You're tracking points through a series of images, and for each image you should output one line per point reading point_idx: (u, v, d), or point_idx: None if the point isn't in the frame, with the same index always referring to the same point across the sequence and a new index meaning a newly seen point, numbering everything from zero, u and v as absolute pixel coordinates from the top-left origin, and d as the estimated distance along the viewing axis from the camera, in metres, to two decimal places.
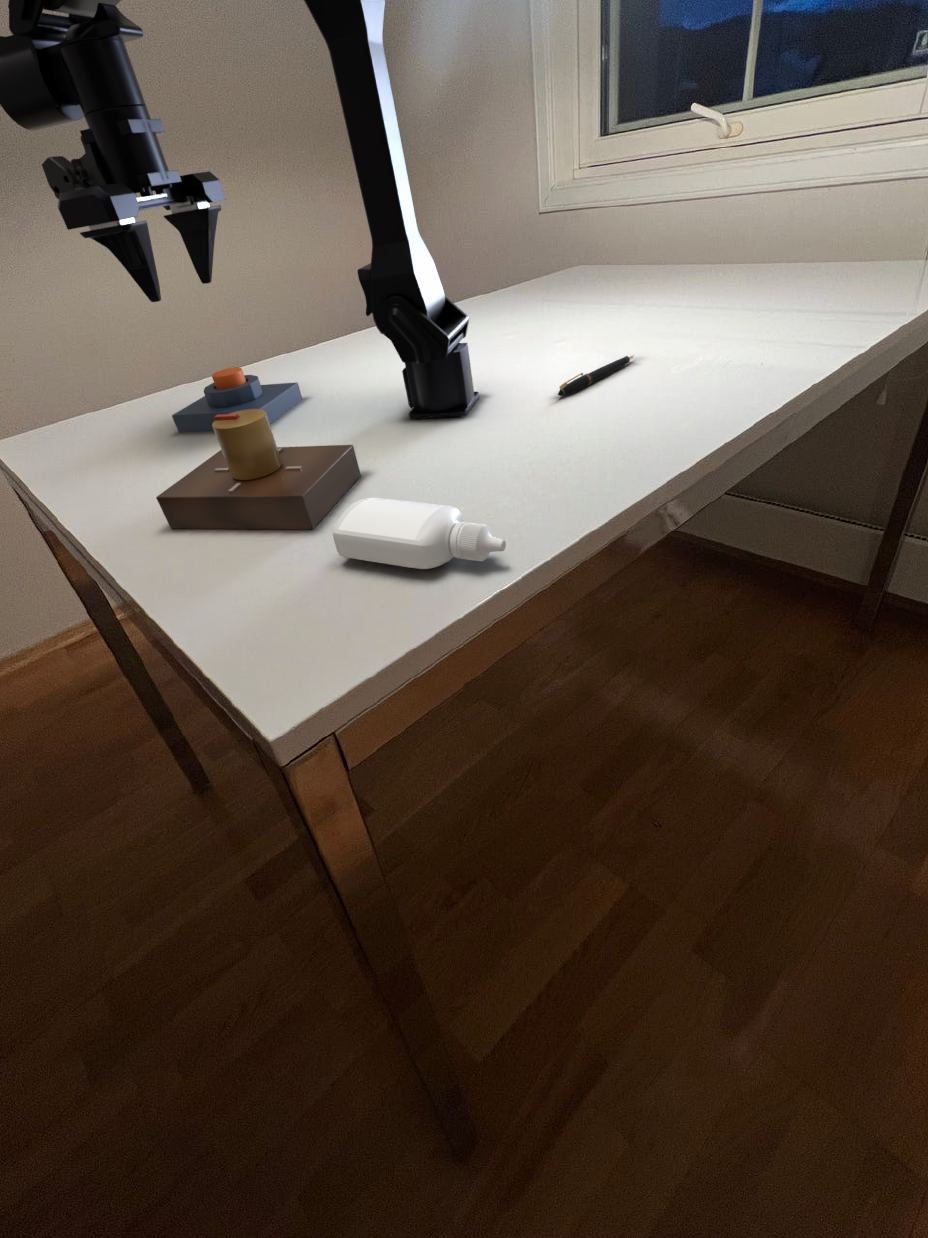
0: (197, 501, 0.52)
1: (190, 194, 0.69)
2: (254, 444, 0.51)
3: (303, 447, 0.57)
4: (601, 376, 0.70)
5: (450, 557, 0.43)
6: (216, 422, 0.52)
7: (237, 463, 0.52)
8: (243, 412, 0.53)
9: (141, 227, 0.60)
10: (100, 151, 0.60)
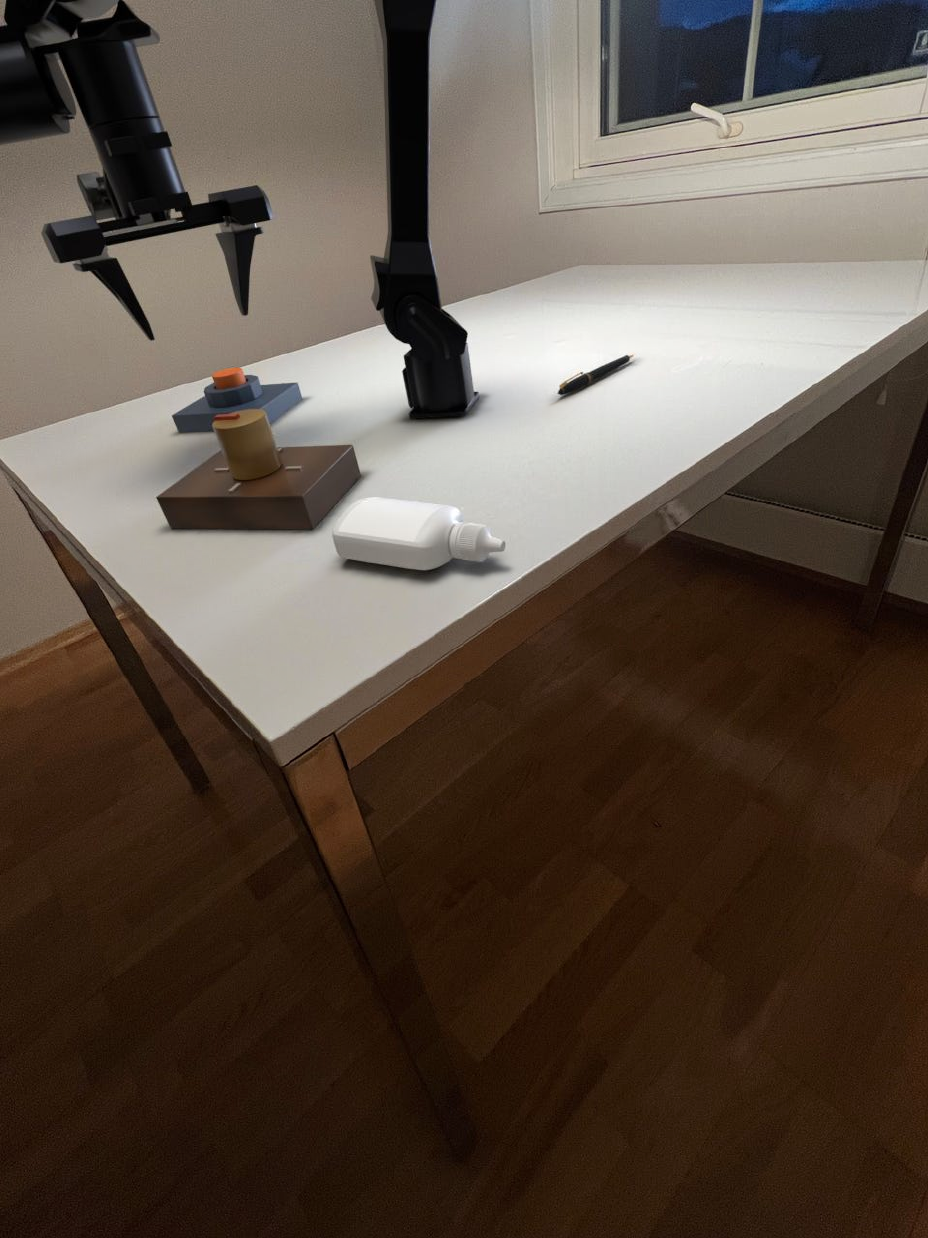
0: (197, 501, 0.52)
1: None
2: (254, 444, 0.51)
3: (303, 447, 0.57)
4: (601, 375, 0.70)
5: (450, 558, 0.43)
6: (216, 422, 0.52)
7: (237, 463, 0.52)
8: (243, 412, 0.53)
9: (107, 266, 0.53)
10: None
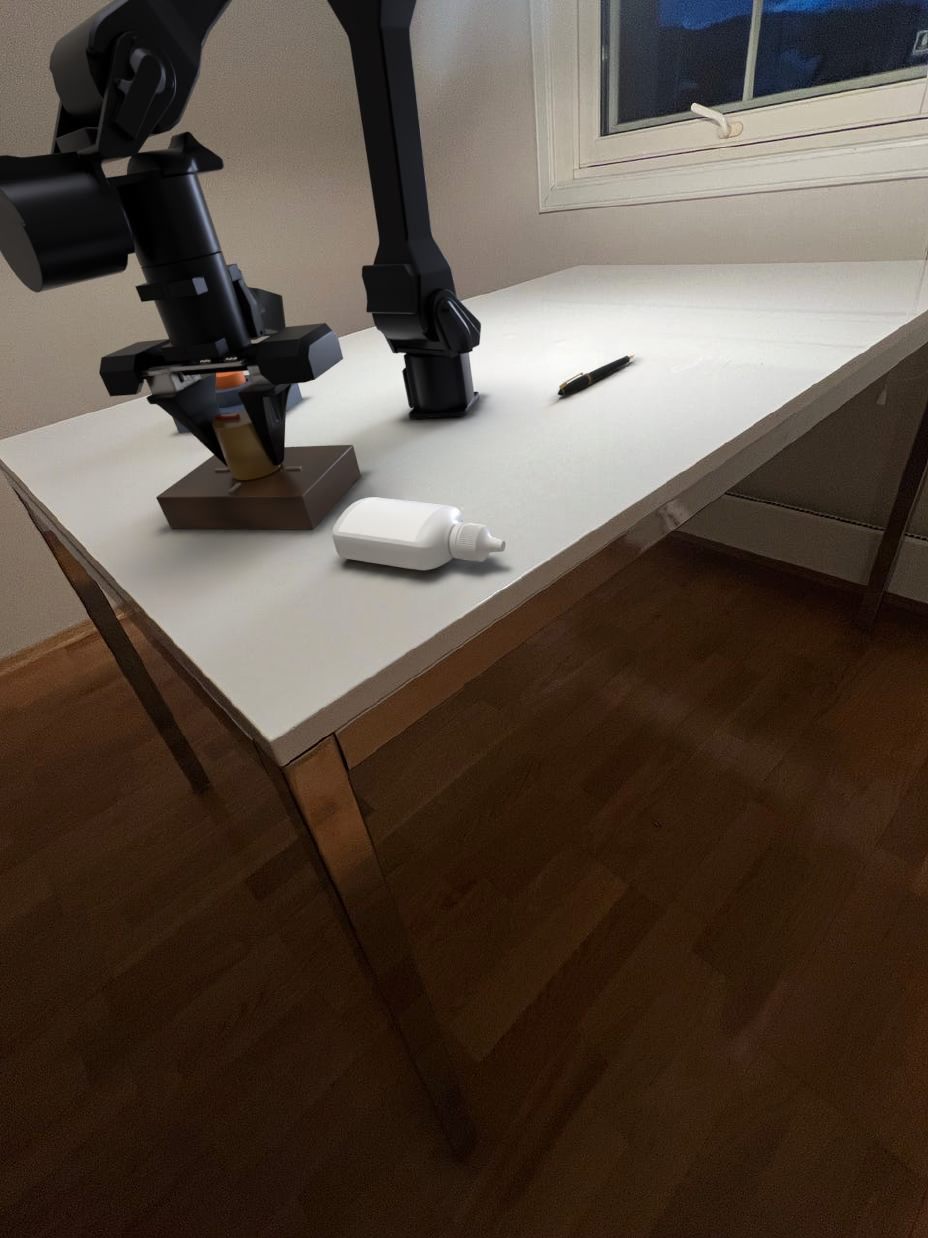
0: (197, 501, 0.52)
1: None
2: (254, 444, 0.51)
3: (303, 447, 0.57)
4: (601, 376, 0.70)
5: (450, 558, 0.43)
6: (216, 422, 0.52)
7: (237, 463, 0.52)
8: (243, 412, 0.53)
9: (166, 403, 0.49)
10: None
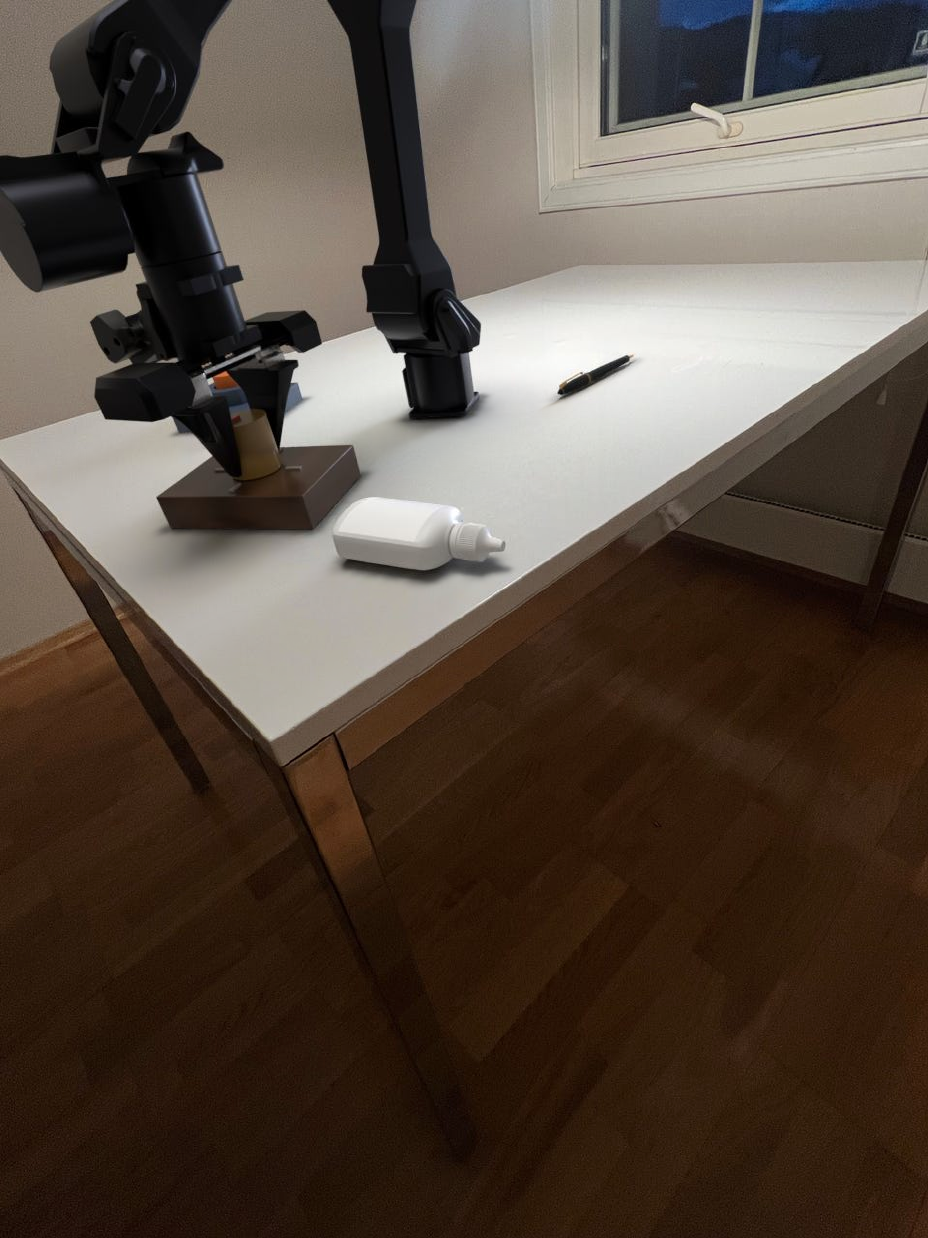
0: (197, 501, 0.52)
1: None
2: None
3: (303, 447, 0.57)
4: (601, 375, 0.70)
5: (450, 558, 0.43)
6: None
7: (270, 453, 0.53)
8: None
9: (218, 406, 0.47)
10: (158, 311, 0.46)
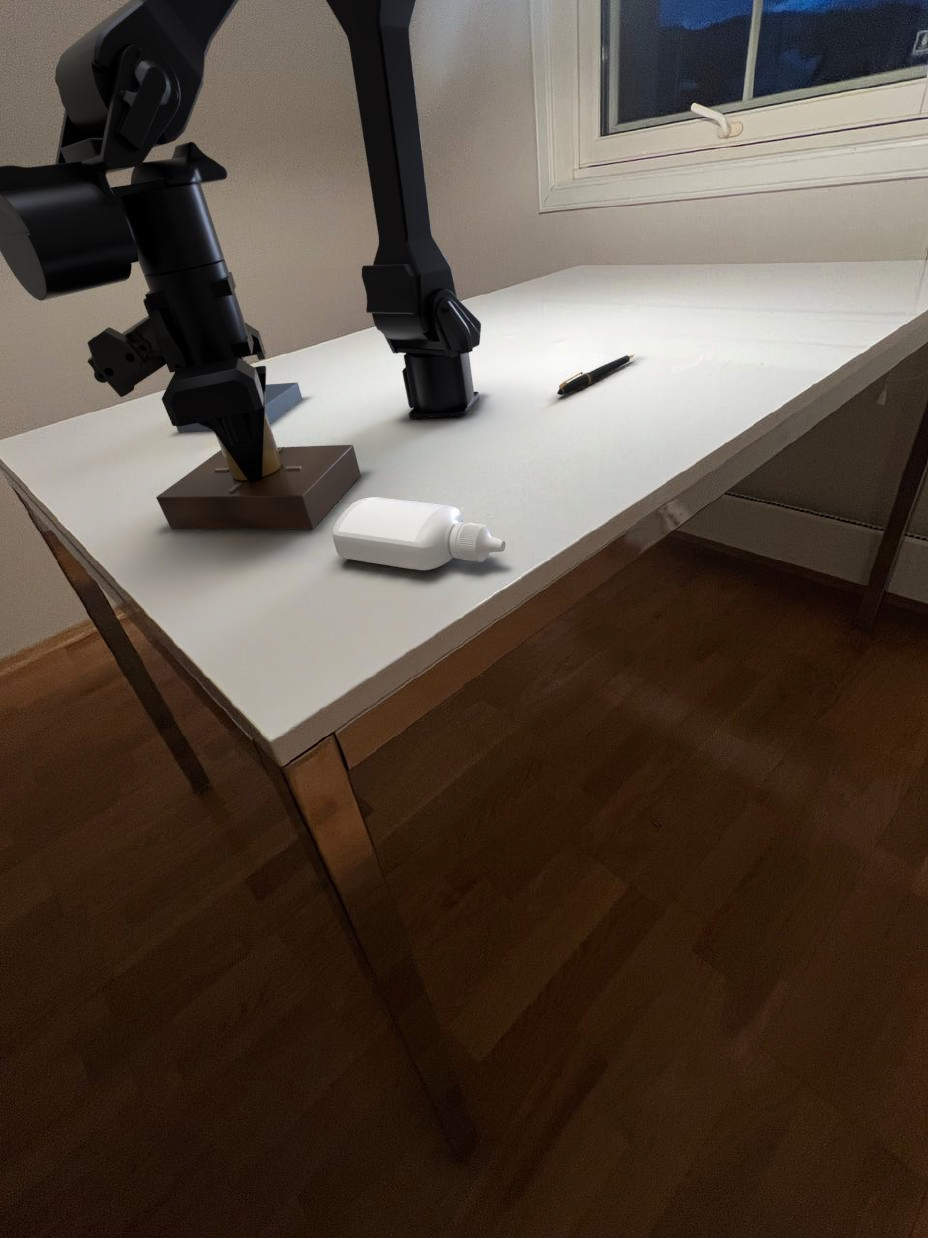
0: (197, 501, 0.52)
1: None
2: None
3: (303, 447, 0.57)
4: (601, 375, 0.70)
5: (450, 558, 0.43)
6: None
7: (276, 446, 0.54)
8: None
9: None
10: (177, 318, 0.45)
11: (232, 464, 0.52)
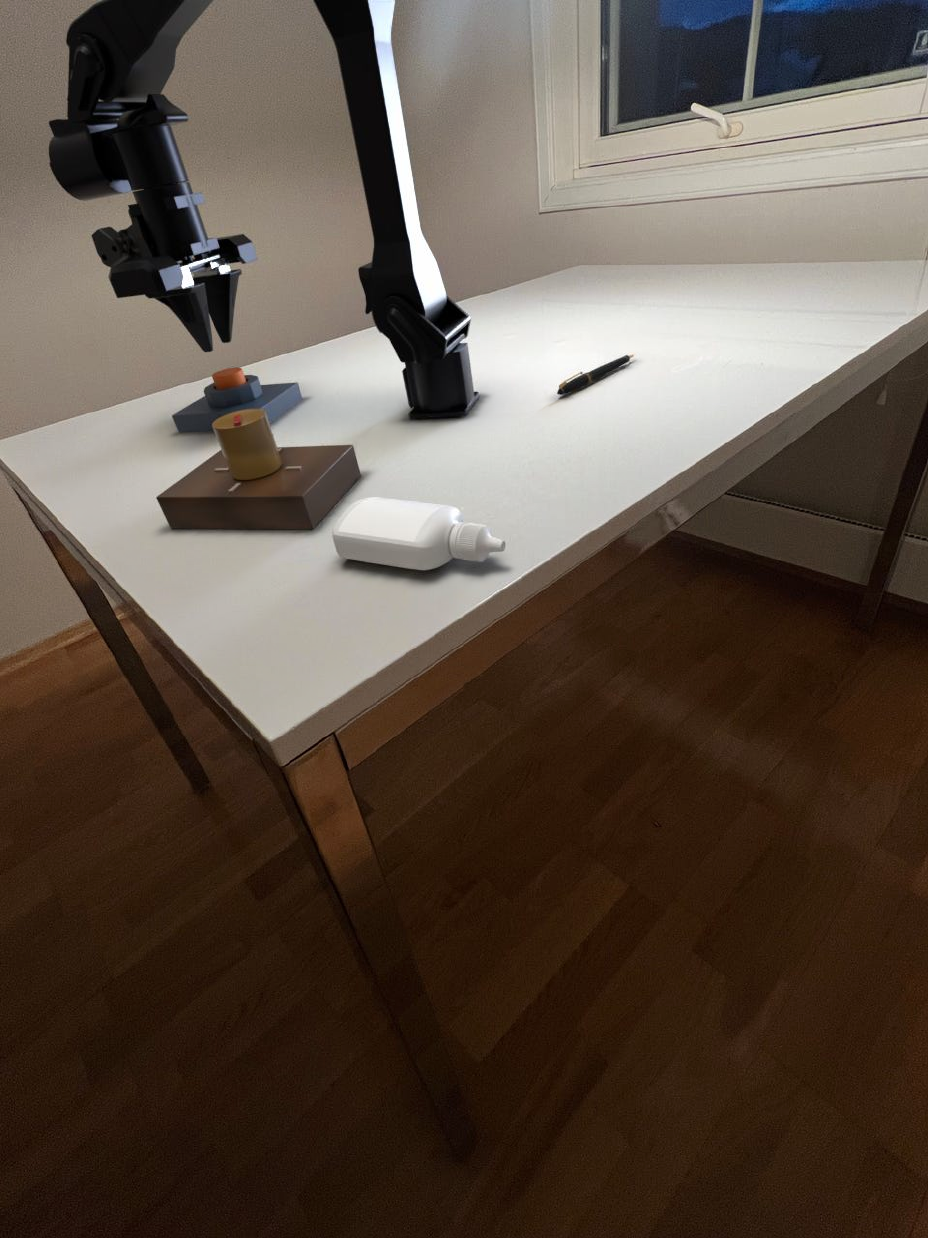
0: (197, 501, 0.52)
1: (212, 259, 0.71)
2: None
3: (303, 447, 0.57)
4: (601, 375, 0.70)
5: (450, 558, 0.43)
6: (247, 422, 0.51)
7: (276, 446, 0.54)
8: (221, 423, 0.51)
9: (200, 289, 0.66)
10: (146, 223, 0.65)
11: (232, 464, 0.52)
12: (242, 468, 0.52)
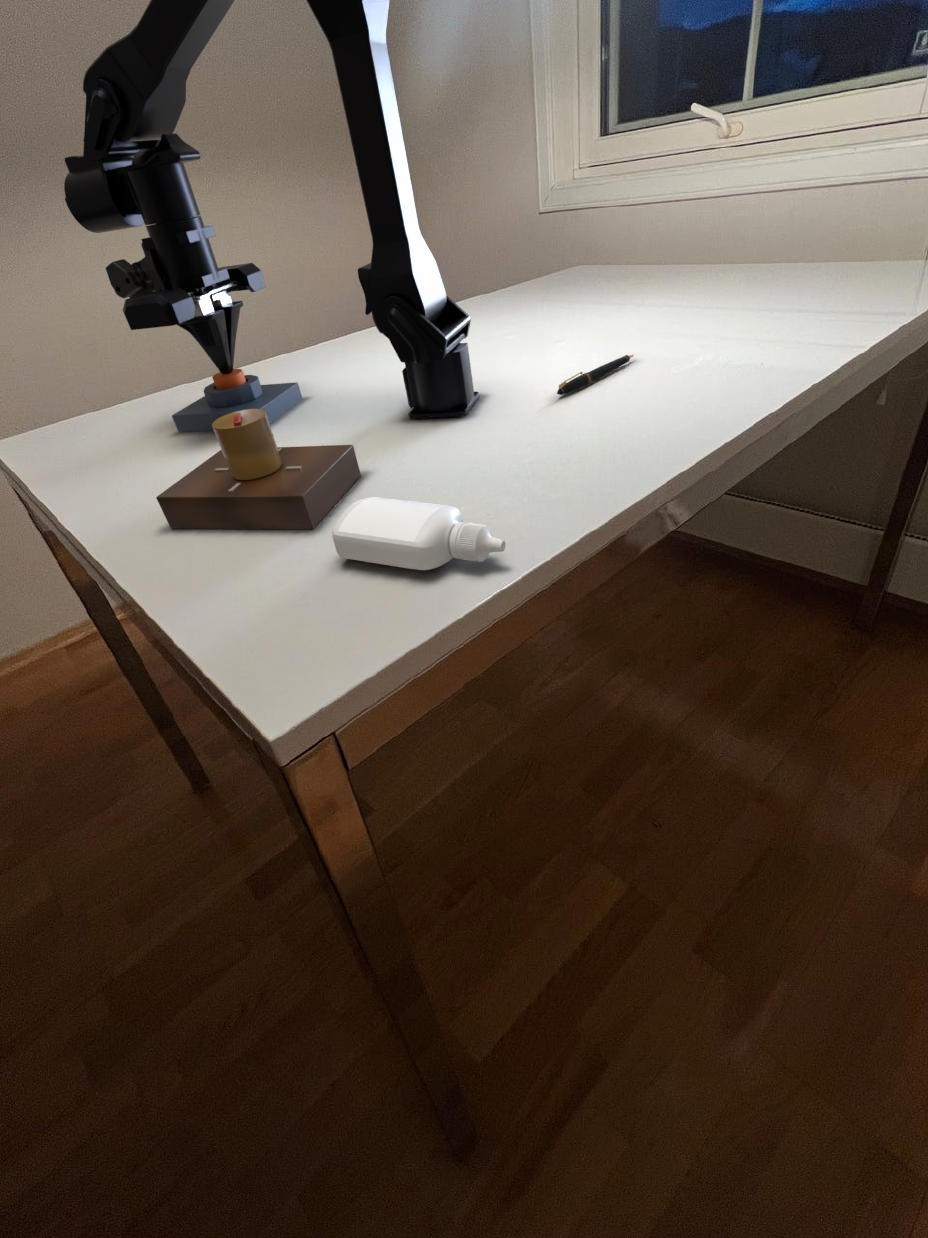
0: (197, 501, 0.52)
1: None
2: None
3: (303, 447, 0.57)
4: (601, 375, 0.70)
5: (450, 558, 0.43)
6: (247, 422, 0.51)
7: (276, 446, 0.54)
8: (221, 423, 0.51)
9: (219, 316, 0.70)
10: (159, 257, 0.66)
11: (232, 464, 0.52)
12: (242, 468, 0.52)
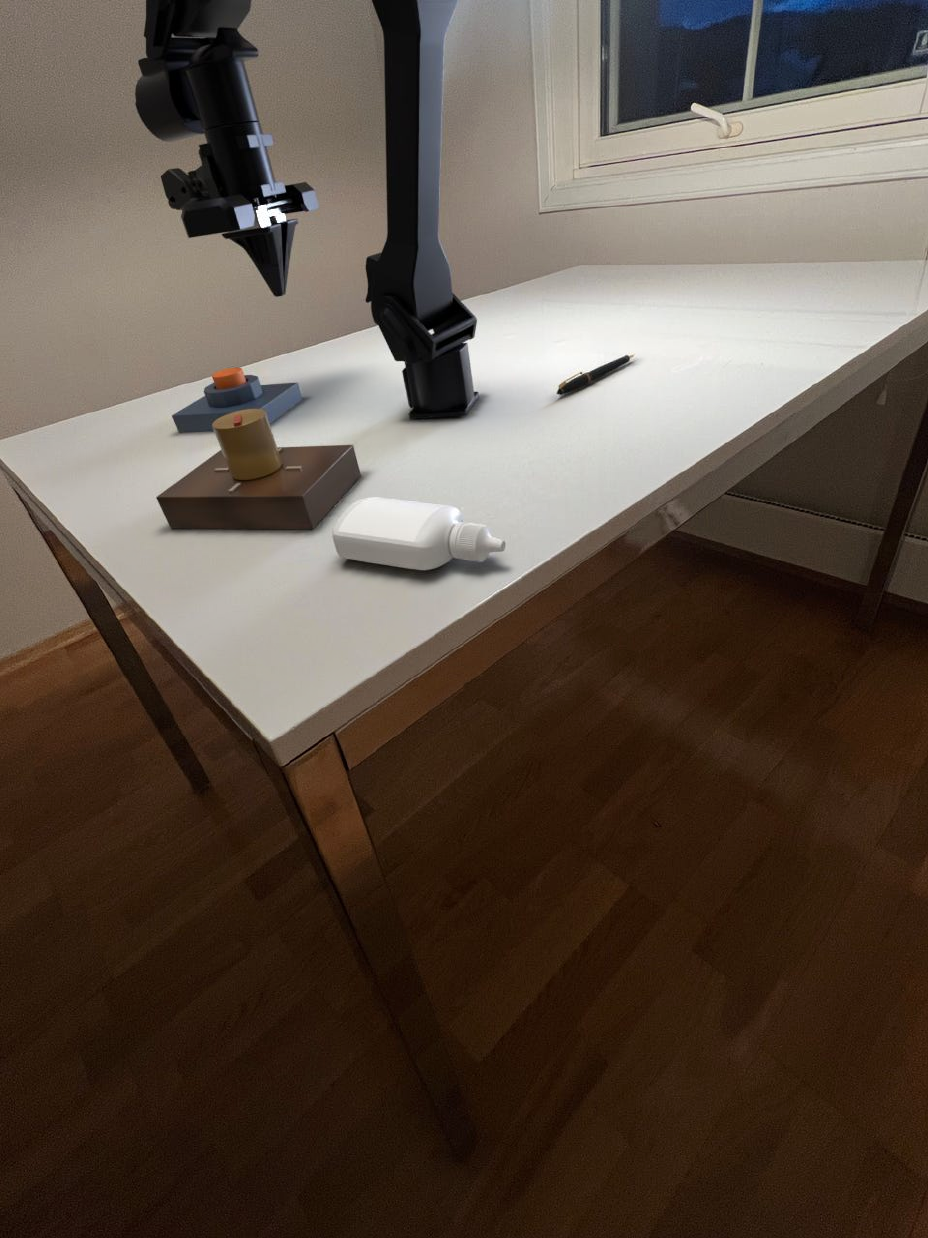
0: (197, 501, 0.52)
1: (268, 208, 0.70)
2: None
3: (303, 447, 0.57)
4: (600, 375, 0.70)
5: (450, 558, 0.43)
6: (247, 422, 0.51)
7: (276, 446, 0.54)
8: (221, 423, 0.51)
9: (277, 229, 0.67)
10: (217, 164, 0.64)
11: (232, 464, 0.52)
12: (242, 468, 0.52)
